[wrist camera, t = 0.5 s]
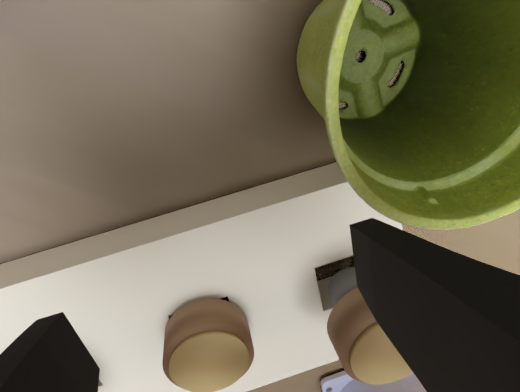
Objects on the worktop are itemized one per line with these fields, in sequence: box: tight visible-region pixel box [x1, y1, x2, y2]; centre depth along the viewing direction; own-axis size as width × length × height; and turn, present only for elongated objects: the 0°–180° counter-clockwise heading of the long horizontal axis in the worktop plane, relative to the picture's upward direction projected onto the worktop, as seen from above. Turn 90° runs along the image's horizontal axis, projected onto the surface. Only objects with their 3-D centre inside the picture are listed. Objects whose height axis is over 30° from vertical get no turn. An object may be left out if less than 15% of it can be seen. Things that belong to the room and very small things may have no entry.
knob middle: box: [163, 297, 254, 392], centre depth 19 cm, size 4×4×5 cm
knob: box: [327, 267, 413, 385], centre depth 17 cm, size 4×4×5 cm
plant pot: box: [297, 0, 520, 230], centre depth 13 cm, size 9×9×9 cm
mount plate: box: [0, 162, 403, 392], centre depth 20 cm, size 12×23×2 cm, turn 103°
